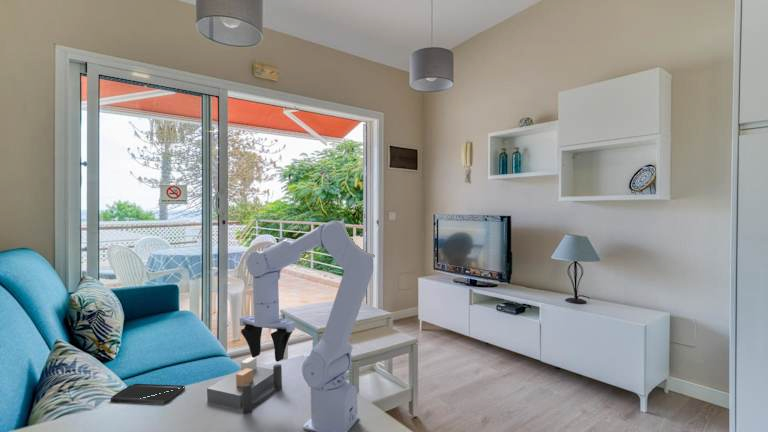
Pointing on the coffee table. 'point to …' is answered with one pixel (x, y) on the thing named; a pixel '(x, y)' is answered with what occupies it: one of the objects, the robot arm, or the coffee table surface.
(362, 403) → the coffee table surface
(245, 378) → the orange rectangular block
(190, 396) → the coffee table surface
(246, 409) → the dark grey post rail
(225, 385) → the grey tray with posts
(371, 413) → the coffee table surface
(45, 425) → the coffee table surface
